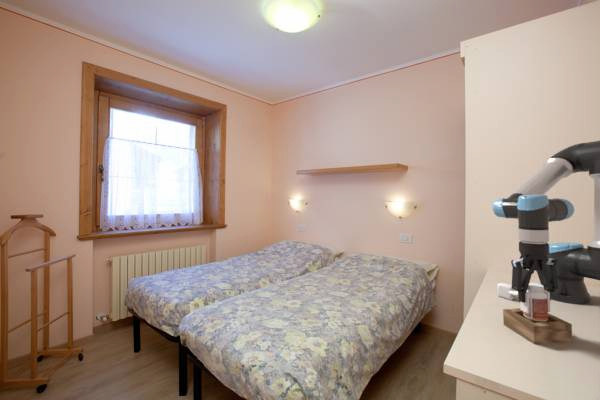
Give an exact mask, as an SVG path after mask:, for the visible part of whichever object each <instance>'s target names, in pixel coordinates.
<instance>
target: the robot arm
mask: <svg viewBox="0 0 600 400" xmlns="http://www.w3.org/2000/svg"><path fill="white" fill-rule="evenodd" d="M582 172H583V173H587V172H588V176H589V177H590V178H592V179H593V180H594V181H593V182H594V183H593V184H594V186H593V187H594V189H593V190H594V191H593V194H594V195H593V229H592V231H593V235H592V236H593V237H592V238H593V239H592V242H590V243H588V244H587V246H586V247H587V248H585V246H584V244H583V243H580V242H554V243H553V242H552V243H551V242H550V233H549V232H550V230H549V223H550V222H561V221H564V220H567V219H570V218H571V217H573V215H574V213H575V206H574V205H573V203H572V202H571V201H570V200H568V199H565V198H557V197H555V198H549V197H548V196H547V195H546V193H548V192H549V190H551V189H552V188H553V187H555V186H556V184H558V183H559V182H560V181H561V180H562V179H565V178H568V177H570V176H571V175H572V174H575V173H582ZM492 211H493V214H494V215H495V216H496V217H498V218H504V219H517V220H518V223H517V224H518V240H519V241H518V252H519V254H520V257H519V259H517V260H514V259H511V261H510V263H511V267H512V273H511V285H512V289H514V290H516V291H518V298H517V299H518V301H519V302H520V303H519V305H520V307H519V308H520V310H522V311H524V312H526V313H530V303H529V293H527V289H528V286H529V283H531V282H530V281H531V279H532V278H531V277H532V275H533V274H534V273H535V272H536V273H537V276H538V279H539V283H540V284H541V285H543V286H544V291H543V292H544V293H546V295H547V304H548V313H551V301H552V300H555V301H558V302H563V303H568V304H578V305H581V304H582V305H583V304H585V305H586V304H589V303H591V300H592V298H591V294H590V293H589V292H588V288H587V285H586V283H585V278H586V279H592V280H596V281H600V140H596V141H590V142H581V143H577V144H573V145H570V146H568V147H565V148H563V149H562V150H560V151H558V152H557V153H556V152H555V154H553V155H552V156H551V157H549V158H548V159H547V160H546V161H544V163H543V165H542V167H541V168H540V169H539V170H538V171H537V172H536V173H535V174H534V175H532V176H531V177H530V178H529V179H528V180H527V181H525V182H524V183H523V184H522V185H521V186H520V187H519V188H518V189H516V190H515V191H514V192H513V193H512V194H510V195H509V196H508V197H507V198H504V197H503V198H498V199H495V201H493V204H492ZM549 242H550V243H549Z"/></svg>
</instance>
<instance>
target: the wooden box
mask: <svg viewBox="0 0 600 400" xmlns="http://www.w3.org/2000/svg"><path fill="white" fill-rule="evenodd" d="M502 313H503V314H502V315H503V316H502V317H503V326H505V327H507V328H508V329H510V330H511V331H513V332H514V333H516V334H518V335H520V336H521V338H523V339H526V340H527V341H529V342H530V343H532V344H533V345H539V344H541V345H542V344H555V343H572V342H573V325H572V323H570V322H568V321H566V320H564V319H562V318H560V317H558V316H555V315H553V314H551V313H550V312H548V320H547V321H545V322H539V321H534V320H530V319H528V318H526V317H525V316H524V315H523V311H522V310H520V307H519V308H504V309H502Z"/></svg>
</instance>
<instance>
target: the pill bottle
mask: <svg viewBox="0 0 600 400" xmlns="http://www.w3.org/2000/svg"><path fill="white" fill-rule="evenodd" d="M543 291H544V286H543V285H541V283H537V282H529V286H528V289H527V293H529V303H530V313H526V312H524V311H523V315H524V316H525V317H526V318H528V319H530V320H534V321H539V322H545V321H547V320H548V313H549V312H548V304H547V295H546V293H544V292H543Z"/></svg>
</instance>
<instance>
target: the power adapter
mask: <svg viewBox="0 0 600 400" xmlns="http://www.w3.org/2000/svg"><path fill="white" fill-rule="evenodd" d="M496 291H497V294H496V295H497V296H498V297H499V296H500V298H502V297H503V299H505V298H506V300H510V301H513V300H515V299H517V297H518V291H516V290H514V289H512V283H511V284H510V283H505V282H499V283H497V285H496Z"/></svg>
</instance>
